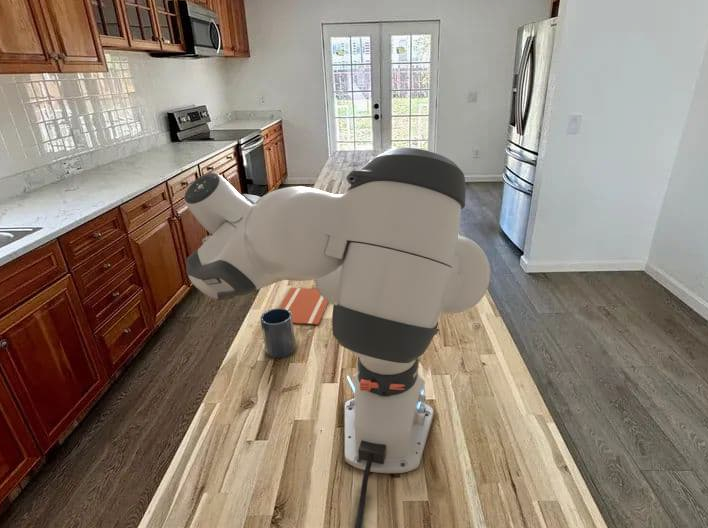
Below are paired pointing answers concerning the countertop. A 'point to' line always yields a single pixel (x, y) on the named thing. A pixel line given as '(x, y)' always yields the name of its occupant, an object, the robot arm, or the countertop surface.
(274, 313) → the cup
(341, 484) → the countertop surface
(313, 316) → the cloth
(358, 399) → the robot arm
